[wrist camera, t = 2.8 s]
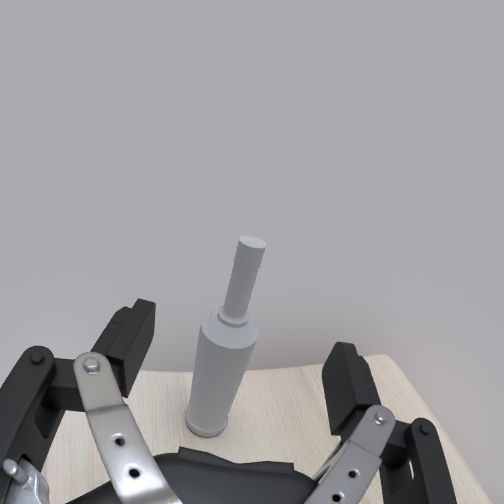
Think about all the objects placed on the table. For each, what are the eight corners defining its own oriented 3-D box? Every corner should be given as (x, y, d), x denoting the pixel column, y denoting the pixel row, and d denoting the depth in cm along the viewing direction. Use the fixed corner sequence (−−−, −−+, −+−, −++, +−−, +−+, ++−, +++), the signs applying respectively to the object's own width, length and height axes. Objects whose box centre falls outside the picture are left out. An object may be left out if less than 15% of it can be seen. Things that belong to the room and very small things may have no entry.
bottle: (216, 402, 36) (266, 228, 26) (231, 433, 32) (299, 258, 22) (179, 409, 34) (209, 225, 23) (192, 442, 30) (234, 259, 19)
